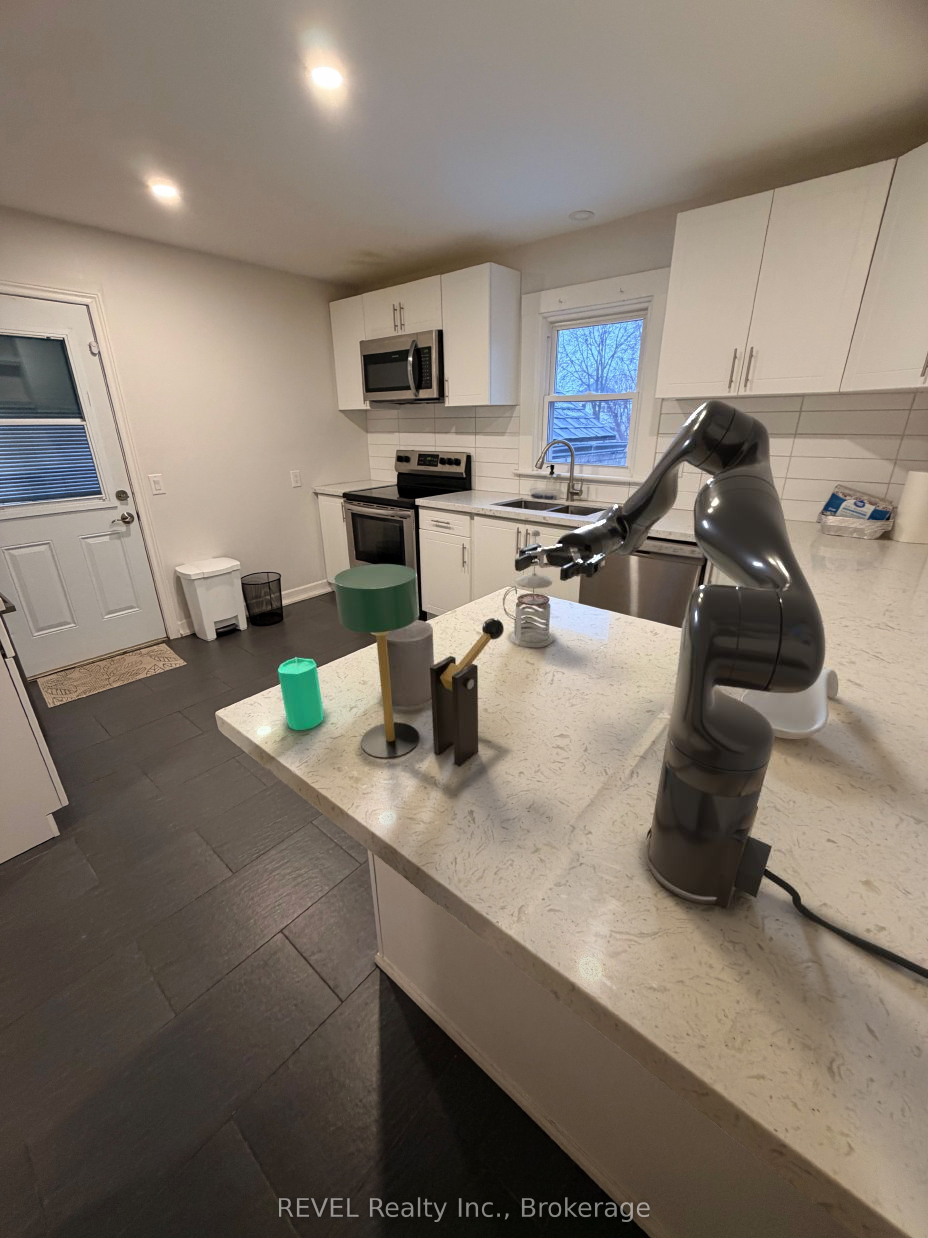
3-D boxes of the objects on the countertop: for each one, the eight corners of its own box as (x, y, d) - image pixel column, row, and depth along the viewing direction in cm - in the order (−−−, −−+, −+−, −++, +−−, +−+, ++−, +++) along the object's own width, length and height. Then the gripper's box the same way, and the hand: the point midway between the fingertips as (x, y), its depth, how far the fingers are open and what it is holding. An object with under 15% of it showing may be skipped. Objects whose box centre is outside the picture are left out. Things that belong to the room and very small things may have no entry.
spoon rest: (802, 761, 72) (815, 720, 70) (722, 725, 81) (731, 687, 78) (858, 705, 86) (870, 668, 83) (784, 679, 94) (793, 645, 91)
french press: (556, 647, 109) (563, 535, 99) (503, 647, 109) (505, 535, 99) (550, 629, 118) (555, 524, 108) (501, 629, 118) (502, 525, 108)
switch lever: (492, 626, 76) (487, 611, 74) (509, 631, 74) (504, 616, 72) (443, 688, 70) (435, 674, 68) (460, 695, 68) (453, 681, 66)
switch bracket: (459, 729, 81) (457, 642, 75) (504, 751, 76) (505, 659, 70) (406, 768, 72) (399, 673, 66) (453, 795, 67) (449, 694, 61)
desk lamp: (459, 752, 75) (455, 578, 65) (407, 792, 68) (393, 601, 57) (393, 718, 84) (379, 559, 74) (340, 750, 76) (316, 578, 66)
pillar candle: (373, 696, 91) (365, 621, 85) (416, 679, 97) (412, 607, 91) (402, 719, 84) (396, 639, 78) (447, 699, 90) (444, 623, 84)
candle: (313, 732, 81) (303, 667, 76) (280, 728, 82) (268, 664, 78) (329, 711, 87) (321, 650, 82) (298, 708, 88) (288, 647, 83)
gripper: (552, 523, 94) (503, 541, 83) (623, 532, 86) (580, 554, 75) (550, 560, 97) (502, 583, 86) (619, 573, 89) (577, 600, 78)
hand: (538, 570), depth 80 cm, fingers open, 8 cm apart
